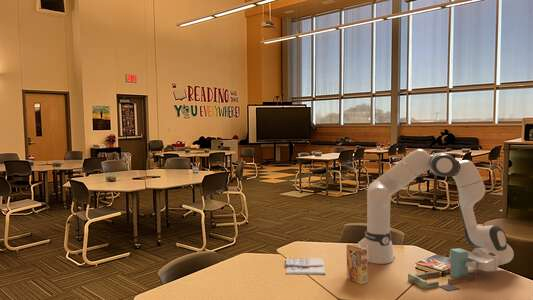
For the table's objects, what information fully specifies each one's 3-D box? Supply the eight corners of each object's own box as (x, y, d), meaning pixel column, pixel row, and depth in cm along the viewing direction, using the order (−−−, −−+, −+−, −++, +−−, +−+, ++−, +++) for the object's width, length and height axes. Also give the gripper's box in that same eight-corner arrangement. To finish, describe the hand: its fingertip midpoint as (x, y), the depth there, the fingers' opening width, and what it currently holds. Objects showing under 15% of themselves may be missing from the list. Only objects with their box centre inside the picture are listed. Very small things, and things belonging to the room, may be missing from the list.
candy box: (368, 282, 176) (367, 247, 175) (361, 285, 174) (360, 249, 173) (353, 276, 184) (352, 243, 183) (346, 278, 181) (346, 244, 180)
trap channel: (400, 276, 183) (400, 269, 183) (447, 268, 192) (447, 262, 192) (433, 293, 164) (433, 286, 164) (483, 284, 173) (483, 277, 172)
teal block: (450, 275, 183) (450, 249, 182) (459, 274, 184) (459, 248, 184) (459, 279, 178) (459, 252, 177) (467, 278, 180) (468, 251, 179)
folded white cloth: (323, 261, 206) (323, 257, 206) (325, 276, 186) (325, 271, 186) (285, 261, 208) (285, 256, 208) (283, 275, 188) (283, 271, 188)
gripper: (463, 244, 195) (440, 247, 190) (501, 257, 176) (476, 261, 171) (463, 257, 195) (440, 261, 191) (500, 272, 176) (476, 276, 171)
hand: (457, 261), depth 181 cm, fingers open, 7 cm apart
